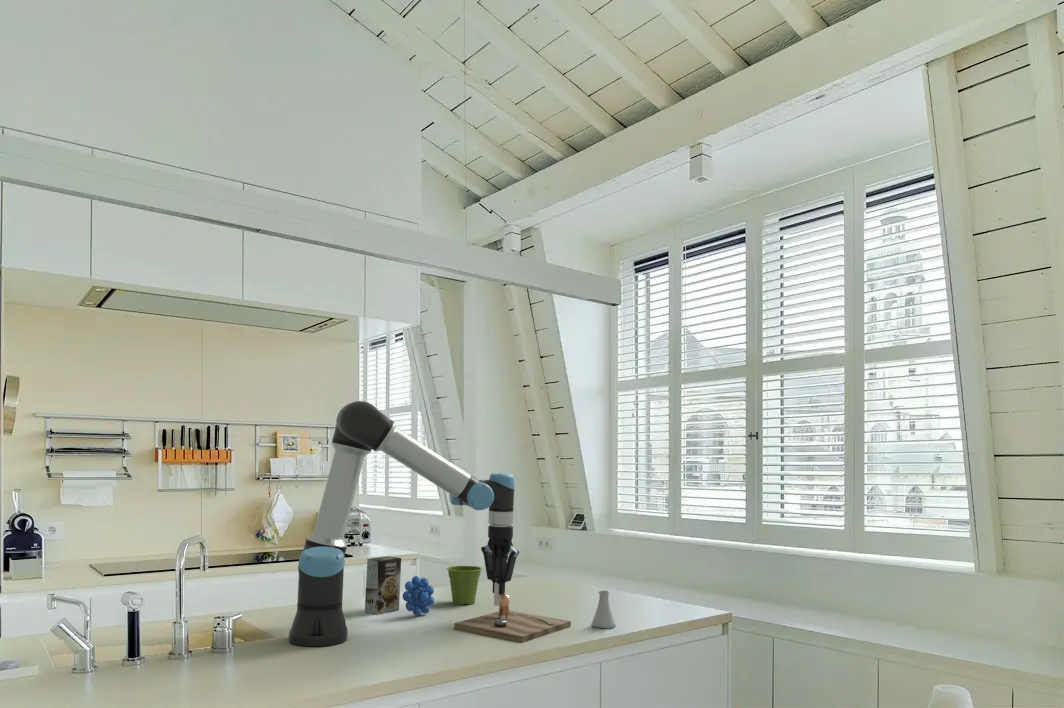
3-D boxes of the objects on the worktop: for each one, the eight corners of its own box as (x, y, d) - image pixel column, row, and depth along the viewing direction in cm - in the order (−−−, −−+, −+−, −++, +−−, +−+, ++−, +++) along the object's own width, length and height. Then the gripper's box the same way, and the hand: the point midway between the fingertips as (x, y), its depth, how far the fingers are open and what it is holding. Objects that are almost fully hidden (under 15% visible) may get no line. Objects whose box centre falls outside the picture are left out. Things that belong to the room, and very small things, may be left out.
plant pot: (484, 600, 273) (485, 565, 274) (478, 607, 261) (479, 571, 262) (449, 598, 274) (450, 564, 275) (442, 605, 262) (443, 570, 263)
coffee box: (378, 614, 247) (380, 560, 249) (363, 611, 251) (366, 558, 253) (400, 610, 255) (402, 557, 256) (386, 607, 258) (388, 555, 260)
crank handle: (506, 626, 228) (506, 603, 229) (493, 625, 228) (494, 603, 229) (510, 614, 243) (510, 593, 244) (498, 614, 243) (498, 593, 244)
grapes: (410, 621, 240) (412, 579, 241) (397, 617, 245) (398, 576, 246) (441, 615, 248) (443, 575, 249) (428, 611, 253) (429, 572, 254)
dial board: (522, 642, 218) (522, 635, 218) (454, 628, 232) (454, 622, 232) (570, 626, 238) (570, 620, 238) (505, 614, 251) (505, 608, 252)
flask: (614, 629, 235) (615, 594, 236) (589, 628, 236) (590, 592, 237) (617, 624, 242) (617, 589, 243) (592, 622, 243) (593, 588, 244)
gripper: (525, 525, 245) (522, 605, 243) (491, 521, 253) (489, 599, 251) (510, 528, 239) (508, 610, 237) (476, 524, 247) (473, 603, 245)
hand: (498, 604), depth 244 cm, fingers closed
